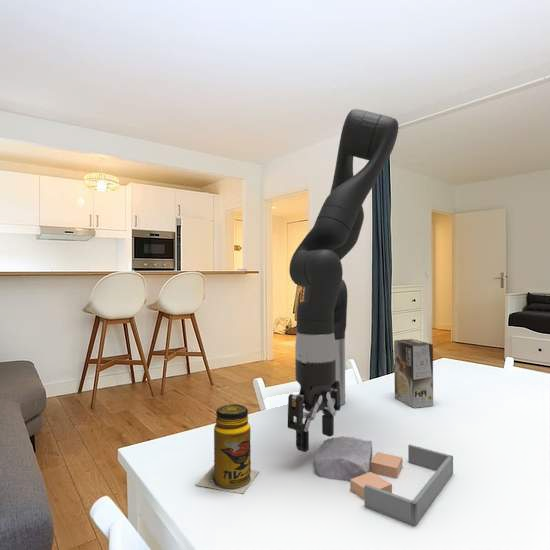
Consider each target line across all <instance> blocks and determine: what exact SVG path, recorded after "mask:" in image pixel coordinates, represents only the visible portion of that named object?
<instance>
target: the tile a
mask: <svg viewBox="0 0 550 550" xmlns="http://www.w3.org/2000/svg"><path fill="white" fill-rule="evenodd" d="M366 484H367V485H370V486H373V487H376V488H379V489H381V490H384V491H387V492H390V493H393V483H391V482H390V481H388V480H386V479H384V478H383V477H380V476H379V475H378V474H376V473H372V472H368V473H366V474H363V475H361V476H358V477H356V478H353V479H350V481H349V485H350V486H349V491H350V492H353V494H355V495H357V496H358V497H360V499H363V500H364V486H365V485H366Z"/></svg>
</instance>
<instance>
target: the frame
mask: <svg viewBox="0 0 550 550" xmlns="http://www.w3.org/2000/svg"><path fill="white" fill-rule="evenodd" d="M407 449H408V450H407V451H408V453H407V454H408V460H407V461H408V463H410V464H413V465H418V466H420V467H424V468H428V469H430V470H435V472H434V473H433V474H432V476H431V477H430V478H429V479H428V481H427V482H426V483H425V484H424V486H423V487H422V488H421V489H420V491H419V492H418V494H416V496H414V498H413V499H409V498H406V497H403V496H401V495H399V494H396V493H393V492H392V493H390V492H387V491H384V490H381V489H379V488H376V487H373V486H370V485H367V484H366V485H365V486H364V499H363V500H364V501H363V502H364V507H365V508H369V509H371V510H373V511H376V512H378V513H381V514H382V515H385V516H389V517H390V518H391V517H392V518H394V519H396V520H399V521H402V522H404V523H406V524H408V525H411V526H413V527H416V526H417V524H419V522H420V521H421V519H422V518H423V516H424V515H425V514H426V512H427V511H428V509H429V508H430V507H431V506H432V503H433V502H434V501H435V499H436V498H437V496H438V495H439V494H440V493H441V491H442V490H443V488H444V487H445V485H446V484H447V483H448V482H449V480H450V478H451V477H452V476H453V475H454V456H453V455H451V454H447V453H443V452H439V451H435V450H432V449H428V448H425V447H421V446H418V445H417V446H416V445H413V444H408V448H407Z"/></svg>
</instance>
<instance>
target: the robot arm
mask: <svg viewBox="0 0 550 550" xmlns="http://www.w3.org/2000/svg"><path fill="white" fill-rule="evenodd" d="M398 134H399V122H398V119H396V118H393V117H392V116H388V115H385V114H381V113H375V112H371V111H367V110H364V109H360V108H359V109H357V108H353V109H351V110H350V111H349V112H348V113H347V115H346V118H345V120H344V122H343V125H342V129H341V134H340V140H339V144H338V150H337V155H336V162H335V168H334V175H333V179H332V185H331V189H330V192H329V194H328V196H327V197H326V199H325V201H324V202H323V203H322V206H321V209H320V211H319V213H318V215H317V217H316V219H315V222H314V225H313V227H312V228H311V229H310V230H309V232H308V233H307V234H306V235H305V237H304V238H303V239H302V241H301V242H300V244H299V245H298V246H297V248H296V249H295V250H294V252H293V254H292V257H291V258H290V262H289V268H288V269H289V276H290V279H291V281H292V282H293V283H294V284H295V285H297V286H299V287H300V288H301V287H302V288H304V291H303V301H301V302H300V303H298V304H297V308H296V337H295V347H294V348H295V352H294V353H295V357H294V358H295V359H294V360H295V365H294V366H295V367H294V368H295V381H296V382H297V383H298V384H299V387H300V388H299V391H298V393H297V394H292V393H290V394H289V395H288V396H287V397H288V398H287V399H288V402H287V403H288V404H287V428H288V429H290V430H295V446H296V449H297V450H298V451H300V452H302V453H307V452H308V451H309V450H310V442H309V441H310V439H309V438H310V435H309V434H310V431H309V428H310V426H311V422H312V421H314V420H315V418H316V417H317V416H316V415H317V413H319V412H320V411H321V413H322V414H323V415H321V432H322V435H324V436H327V437H329V438H330V437H331V438H332V436H334V435H335V432H334V431H335V430H334V429H335V428H334V427H335V425H334V424H335V423H334V422H335V421H334V419H335V418H334V417H335V416H336V414H337V411H338V412H340V410H341V406H342V405H345V404H346V330H347V316H348V315H347V313H348V288H347V285H346V282H345V280H344V279H343V264H342V262H341V261H342V259H344V257H345V256H346V255H347V254H349V253H350V251H351V250H352V249H354V247H355V245H356V244H357V242H358V241H359V240H358V239H359V237H360V234H361V231H362V230H361V229H362V227H363V225H364V224H363V223H364V220H365V219H364V218H365V213H364V207H363V205H364V203H365V201H366V199H367V196H368V195H369V193H370V192H371V190H372V188H373V187H374V185H375V183H376V181H377V180H378V178H379V176H380V175H381V173H382V171H383V169H384V167H385V165H386V164H387V163H388V161H389V158H390V156H391V154H392V153H393V150H394V148H395V144H396V141H397V139H398V138H397V137H398ZM354 158H358V159H362V160H364V161H365V160H366V161H367V162H366V164H365V166H363V168H361V169H360V170H358V172H357V173H355V174H354ZM304 410H305V411H304ZM294 418H295V419H294ZM304 418H305V419H304ZM303 421H304V422H303Z"/></svg>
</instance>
